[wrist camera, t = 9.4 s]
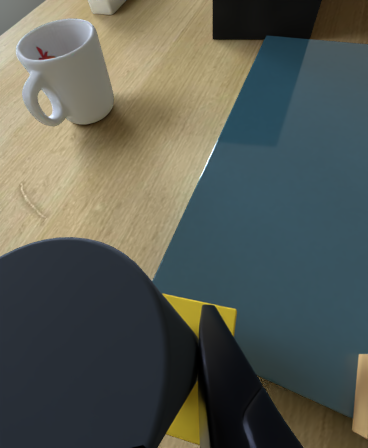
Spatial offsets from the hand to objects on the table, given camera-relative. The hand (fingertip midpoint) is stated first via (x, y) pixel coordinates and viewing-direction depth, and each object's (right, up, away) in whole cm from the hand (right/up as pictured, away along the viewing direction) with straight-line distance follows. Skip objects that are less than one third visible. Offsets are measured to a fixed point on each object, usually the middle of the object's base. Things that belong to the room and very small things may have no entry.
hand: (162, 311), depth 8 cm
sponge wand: (+1, -4, +5) cm, 7 cm away
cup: (-11, +16, +22) cm, 29 cm away
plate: (+14, +9, +15) cm, 22 cm away
